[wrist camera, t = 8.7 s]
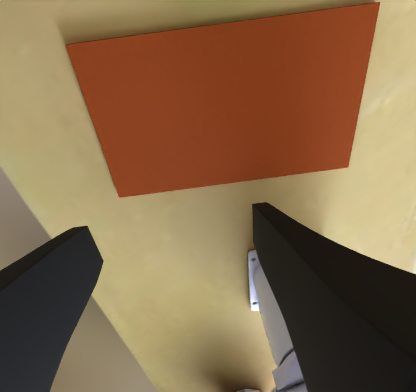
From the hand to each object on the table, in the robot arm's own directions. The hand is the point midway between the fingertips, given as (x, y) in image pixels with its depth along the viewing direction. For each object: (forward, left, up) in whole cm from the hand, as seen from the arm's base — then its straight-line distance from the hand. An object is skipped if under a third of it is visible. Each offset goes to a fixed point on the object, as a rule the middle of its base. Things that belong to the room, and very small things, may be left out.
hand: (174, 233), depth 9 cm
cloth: (+4, -4, -9) cm, 11 cm away
